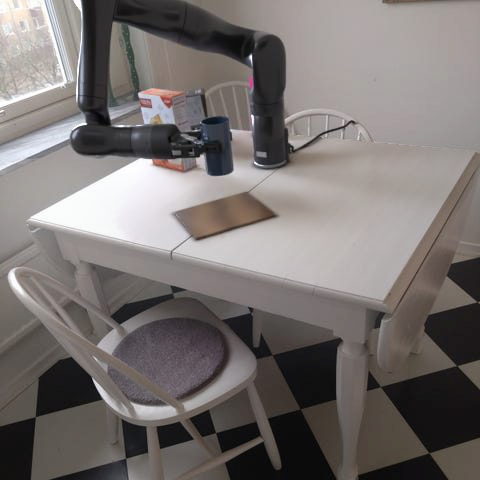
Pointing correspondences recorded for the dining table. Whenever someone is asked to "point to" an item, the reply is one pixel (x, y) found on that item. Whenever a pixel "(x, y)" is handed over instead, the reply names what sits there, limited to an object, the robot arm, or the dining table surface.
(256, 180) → the dining table surface
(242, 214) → the desk mat
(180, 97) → the cracker box
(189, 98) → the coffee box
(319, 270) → the dining table surface
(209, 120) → the pen holder
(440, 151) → the dining table surface
